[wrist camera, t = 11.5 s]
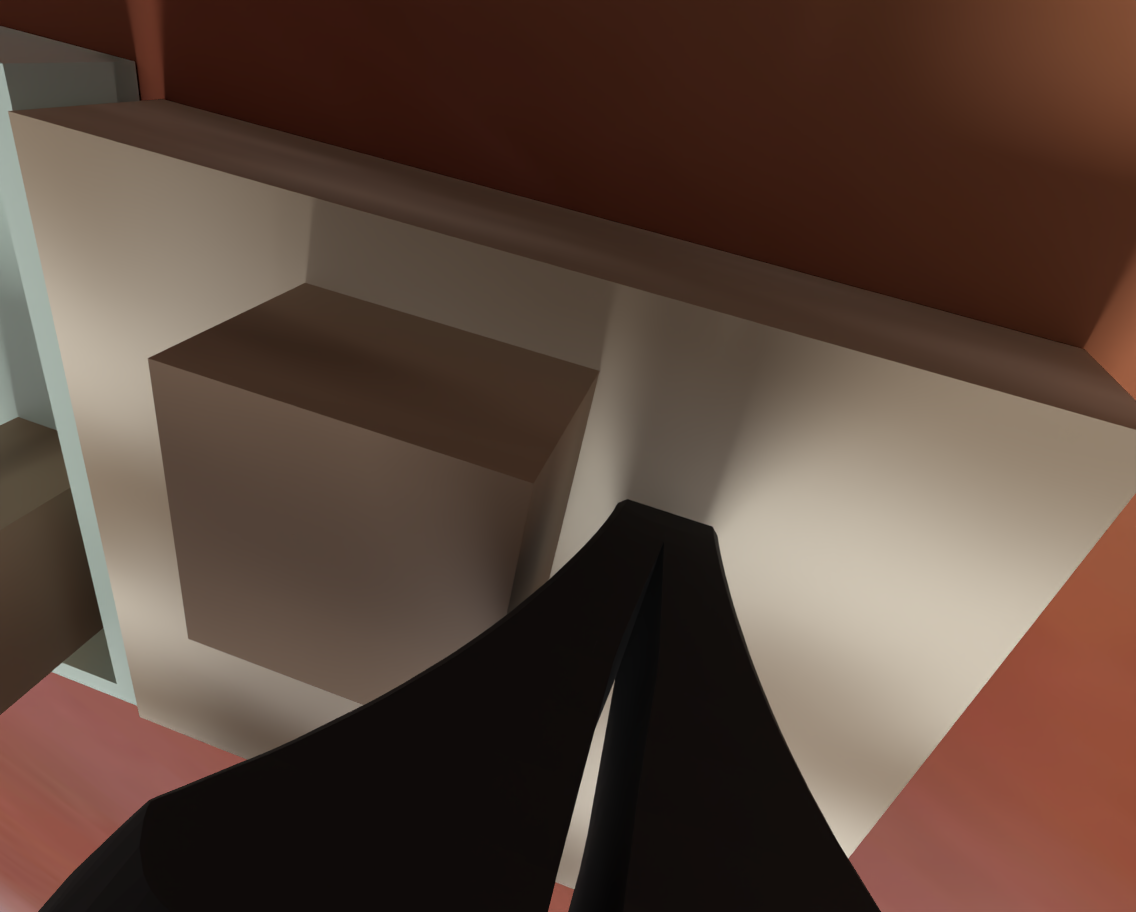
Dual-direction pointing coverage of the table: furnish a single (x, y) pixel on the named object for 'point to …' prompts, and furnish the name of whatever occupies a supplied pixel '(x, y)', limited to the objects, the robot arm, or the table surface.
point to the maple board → (599, 423)
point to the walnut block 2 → (360, 484)
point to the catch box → (23, 314)
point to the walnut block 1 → (39, 561)
